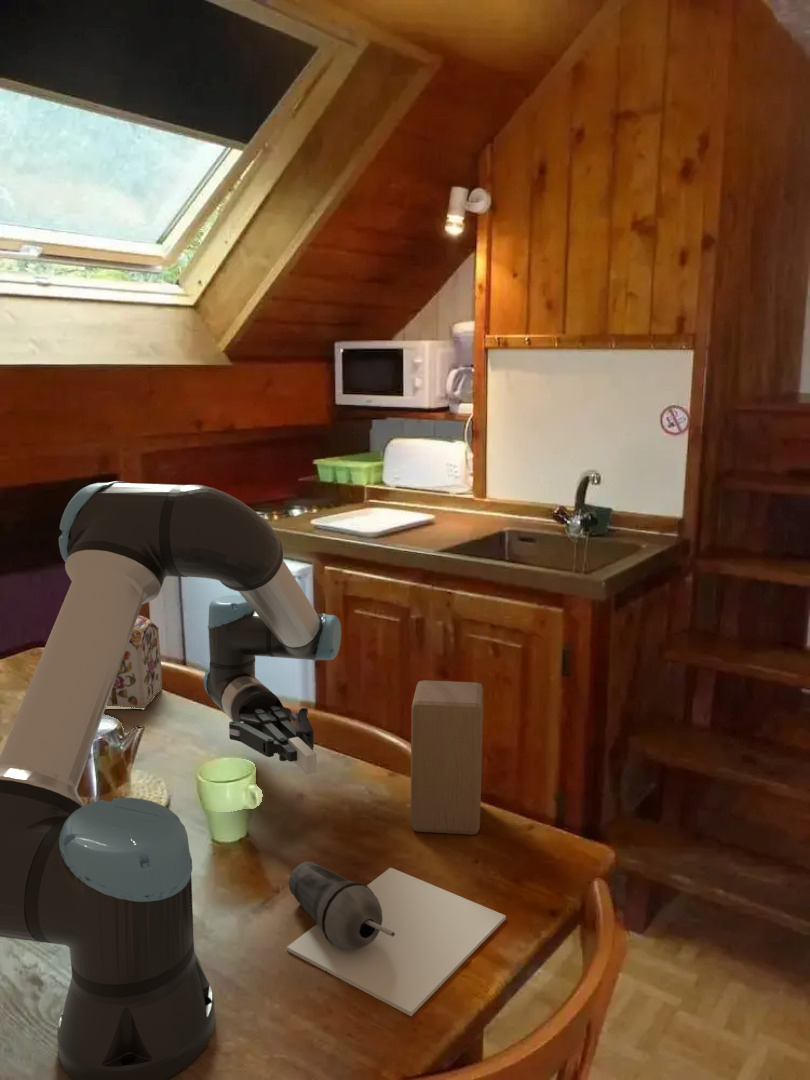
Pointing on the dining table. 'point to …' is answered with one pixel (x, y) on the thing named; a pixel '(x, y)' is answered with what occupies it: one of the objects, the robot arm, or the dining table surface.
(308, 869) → the tumbler with straw
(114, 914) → the robot arm
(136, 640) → the decorative jar
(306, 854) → the dining table surface
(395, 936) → the mat
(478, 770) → the block
